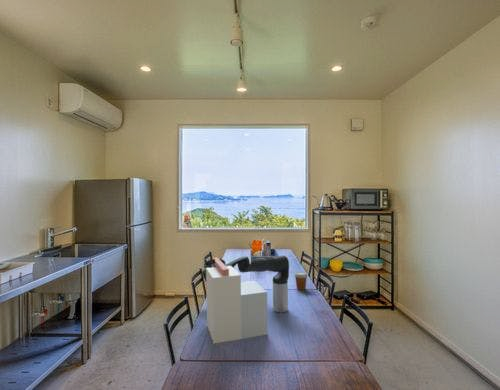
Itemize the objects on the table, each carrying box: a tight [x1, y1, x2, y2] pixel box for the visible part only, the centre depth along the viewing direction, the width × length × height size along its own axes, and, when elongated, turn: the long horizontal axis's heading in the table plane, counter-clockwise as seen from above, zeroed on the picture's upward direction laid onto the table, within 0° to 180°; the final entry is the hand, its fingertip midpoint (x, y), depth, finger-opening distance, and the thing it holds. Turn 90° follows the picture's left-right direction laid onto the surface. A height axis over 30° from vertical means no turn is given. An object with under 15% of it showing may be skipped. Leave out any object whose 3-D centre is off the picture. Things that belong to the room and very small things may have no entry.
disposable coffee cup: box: [294, 271, 308, 291], centre depth 219 cm, size 10×10×12 cm
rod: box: [212, 257, 229, 276], centre depth 158 cm, size 28×3×3 cm, turn 18°
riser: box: [205, 266, 269, 345], centre depth 155 cm, size 20×28×32 cm
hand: (217, 260), depth 166 cm, fingers closed on rod, 3 cm apart
